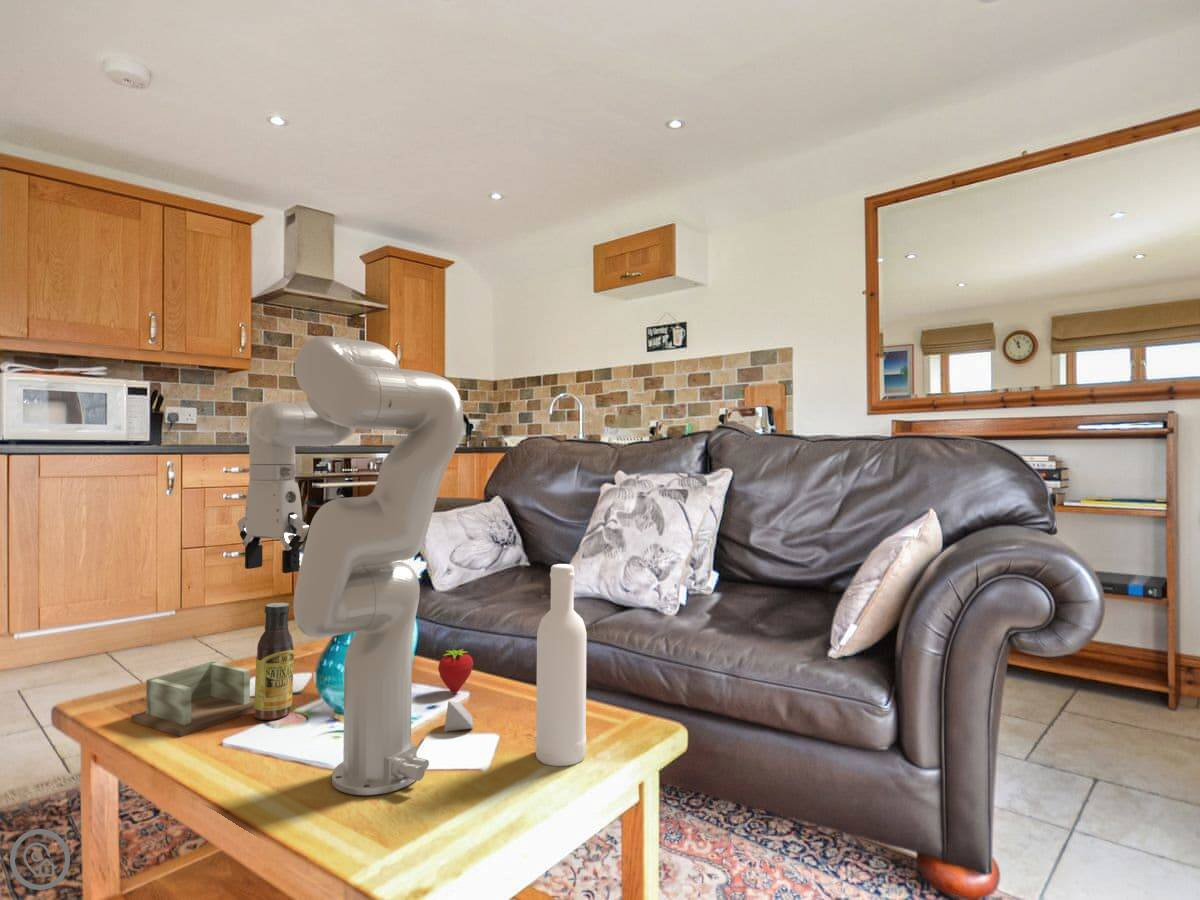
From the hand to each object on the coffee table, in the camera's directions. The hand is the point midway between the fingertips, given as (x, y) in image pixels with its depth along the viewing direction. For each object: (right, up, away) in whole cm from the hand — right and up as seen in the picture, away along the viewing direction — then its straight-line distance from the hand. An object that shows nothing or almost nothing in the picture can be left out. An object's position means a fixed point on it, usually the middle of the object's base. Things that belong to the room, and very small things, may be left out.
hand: (272, 569), depth 129 cm
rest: (-13, -26, +1) cm, 29 cm away
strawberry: (+31, -27, +13) cm, 42 cm away
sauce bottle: (0, -26, 0) cm, 26 cm away
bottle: (+53, -27, -16) cm, 61 cm away
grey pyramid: (+35, -27, -5) cm, 44 cm away
